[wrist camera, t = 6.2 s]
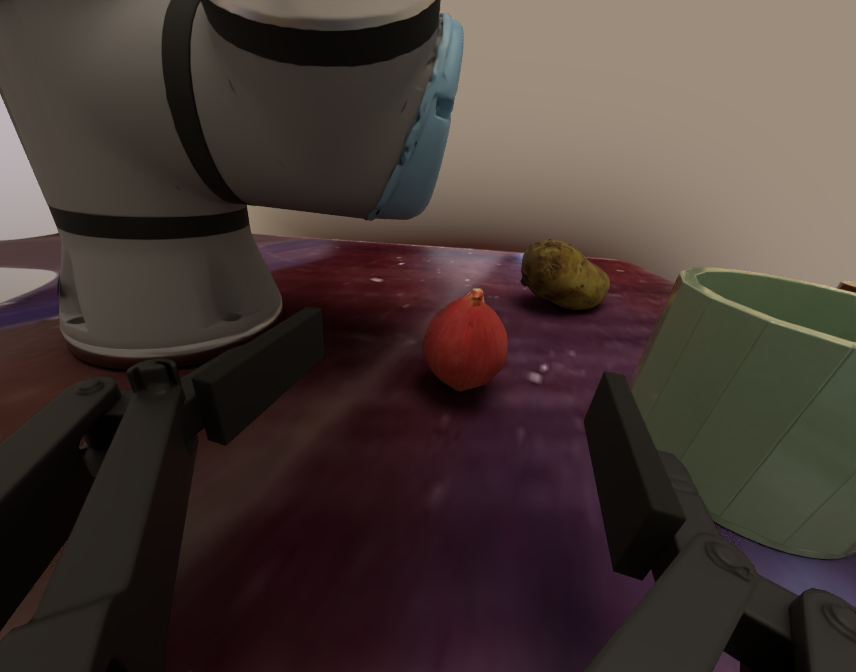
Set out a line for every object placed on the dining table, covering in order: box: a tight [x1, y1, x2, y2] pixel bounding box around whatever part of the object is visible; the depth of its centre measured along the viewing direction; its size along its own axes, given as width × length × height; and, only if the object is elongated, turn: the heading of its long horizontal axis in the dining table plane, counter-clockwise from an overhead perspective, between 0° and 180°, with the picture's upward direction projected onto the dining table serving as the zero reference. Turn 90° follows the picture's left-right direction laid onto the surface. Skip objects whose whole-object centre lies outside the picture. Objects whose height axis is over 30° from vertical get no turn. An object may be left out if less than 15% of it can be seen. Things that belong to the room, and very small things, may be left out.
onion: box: [423, 289, 508, 392], centre depth 24 cm, size 6×6×8 cm
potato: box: [520, 240, 610, 310], centre depth 41 cm, size 8×13×8 cm, turn 95°
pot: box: [628, 268, 856, 559], centre depth 19 cm, size 13×13×10 cm
